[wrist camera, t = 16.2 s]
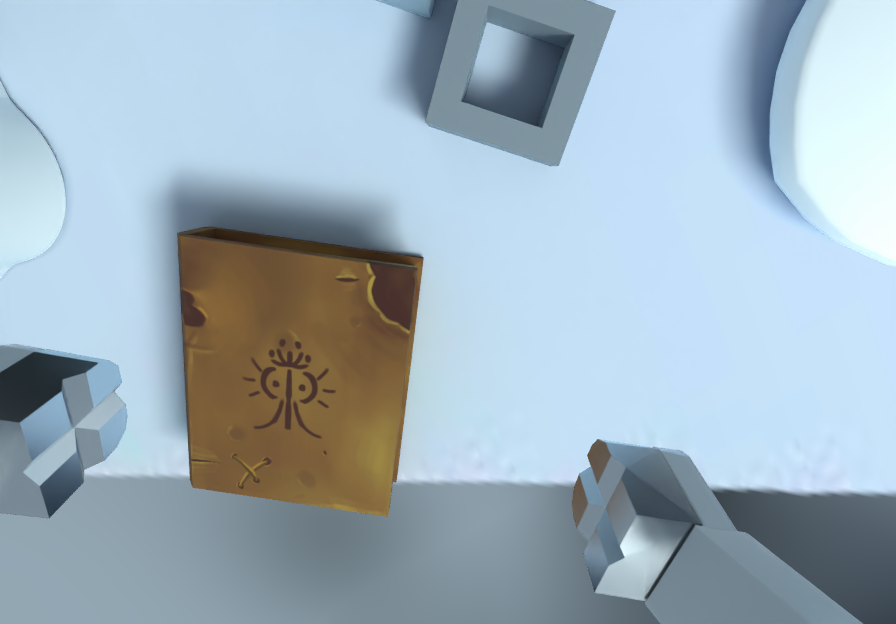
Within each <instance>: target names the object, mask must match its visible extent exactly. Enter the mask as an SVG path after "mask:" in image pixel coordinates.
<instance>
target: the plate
mask: <svg viewBox="0 0 896 624" xmlns="http://www.w3.org/2000/svg"><path fill="white" fill-rule="evenodd" d="M769 146H770V153H771V160H772V167H773V175H774V181H775V182H776V184H777V185H778V186H779V187H780V189H781V190H782V191H783V192H784V194H785V195H786V196H787V197H788V199H789V200H790V201H791V202H792V204H793V205H794V206H795V207H796V209H797V210H798V211H799V212H800V214H801V215H802V216H803V217H804V219H805V220H807V221H808V222H809V223H810V224H812V225H813V226H814V227H816V228H817V229H818V230H819V231H821V232H822V233H823V234H825V235H826V236H827V237H829V238H830V239H832V240H833V241H835V242H837V243H839V244H842V245H844V246H846V247H848V248H850V249H853V250H855V251H857V252H859V253H861V254H864V255H866V256H868V257H870V258H872V259H875V260H877V261H879V262H881V263H883V264H887V265H891V266H896V0H806V2H805V4H804V6H803V8H802V10H801V11H800V13H799V15H798V17H797V19H796V21H795V23H794V25H793V26H792V28H791V30H790V33H789V35H788V38H787V41H786V44H785V47H784V50H783V53H782V56H781V59H780V62H779V64H778V67H777V71H776V77H775V83H774V89H773V95H772V102H771V108H770V145H769Z"/></svg>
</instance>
